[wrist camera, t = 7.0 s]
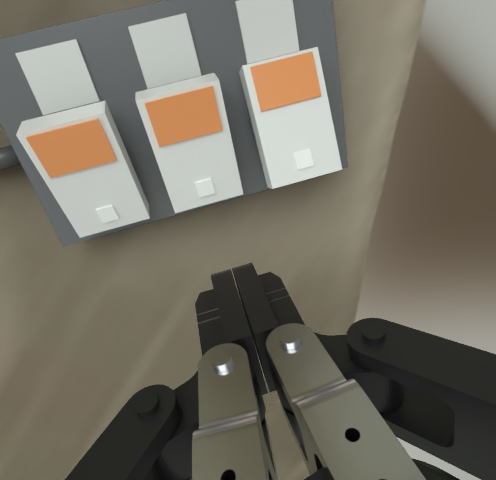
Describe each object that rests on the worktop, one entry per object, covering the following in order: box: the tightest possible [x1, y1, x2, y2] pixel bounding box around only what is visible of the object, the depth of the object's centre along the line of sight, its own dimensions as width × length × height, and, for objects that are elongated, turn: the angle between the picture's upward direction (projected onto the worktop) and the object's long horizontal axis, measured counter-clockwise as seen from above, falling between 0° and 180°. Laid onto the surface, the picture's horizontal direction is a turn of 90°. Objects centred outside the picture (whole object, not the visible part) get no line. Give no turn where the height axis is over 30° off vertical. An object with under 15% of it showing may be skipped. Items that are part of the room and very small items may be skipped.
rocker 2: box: [239, 47, 342, 189], centre depth 23 cm, size 7×4×2 cm, turn 12°
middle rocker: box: [135, 73, 243, 213], centre depth 22 cm, size 7×4×2 cm, turn 12°
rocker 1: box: [16, 101, 150, 238], centre depth 22 cm, size 7×4×2 cm, turn 11°
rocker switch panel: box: [0, 0, 348, 246], centre depth 24 cm, size 12×24×4 cm, turn 102°
